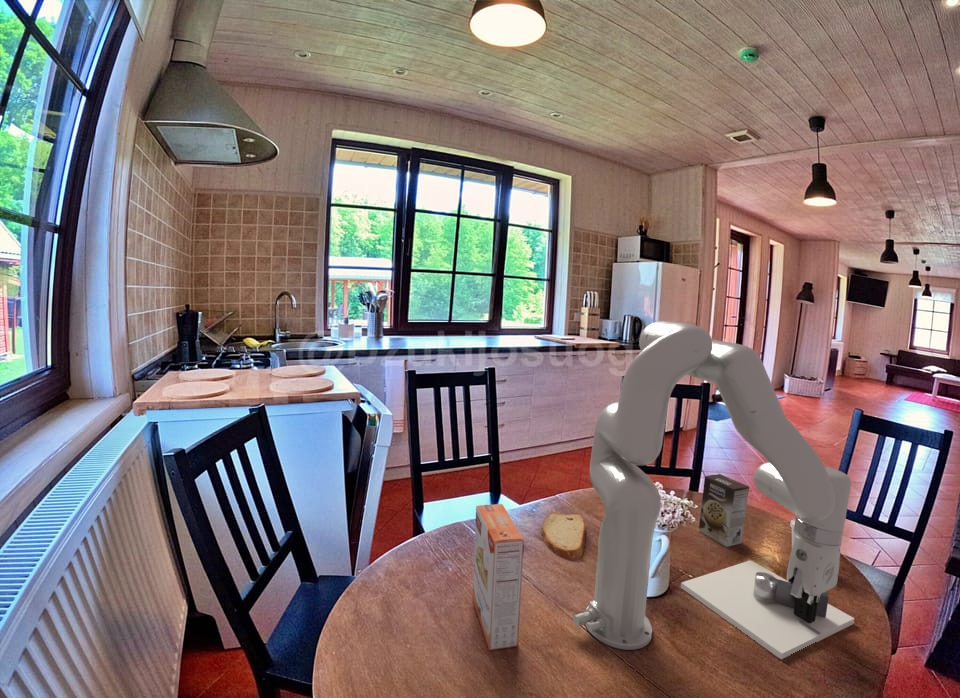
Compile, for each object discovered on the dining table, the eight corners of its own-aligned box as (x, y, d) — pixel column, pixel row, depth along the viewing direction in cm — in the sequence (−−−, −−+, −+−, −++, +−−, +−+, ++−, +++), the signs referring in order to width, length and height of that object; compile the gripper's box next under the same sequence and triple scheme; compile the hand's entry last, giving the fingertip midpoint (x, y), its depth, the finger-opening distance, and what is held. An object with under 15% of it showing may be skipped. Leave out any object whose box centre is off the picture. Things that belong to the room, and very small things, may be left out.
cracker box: (470, 600, 95) (475, 503, 92) (498, 597, 96) (504, 502, 94) (486, 652, 81) (492, 540, 79) (519, 648, 83) (526, 538, 80)
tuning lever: (753, 599, 97) (756, 579, 96) (752, 589, 100) (755, 569, 100) (826, 621, 91) (829, 600, 91) (823, 610, 95) (826, 589, 94)
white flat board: (781, 659, 83) (782, 652, 83) (680, 587, 102) (681, 581, 102) (853, 623, 93) (854, 617, 93) (749, 564, 113) (750, 559, 113)
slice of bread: (570, 564, 110) (571, 549, 110) (519, 531, 124) (520, 518, 124) (616, 543, 121) (617, 529, 120) (565, 515, 135) (566, 503, 135)
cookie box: (697, 531, 129) (703, 475, 127) (713, 527, 131) (719, 472, 129) (726, 547, 120) (733, 488, 119) (743, 543, 123) (750, 485, 121)
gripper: (819, 548, 83) (804, 642, 85) (859, 532, 90) (844, 619, 92) (775, 528, 89) (762, 616, 91) (816, 515, 96) (803, 597, 98)
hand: (803, 617), depth 92 cm, fingers closed
